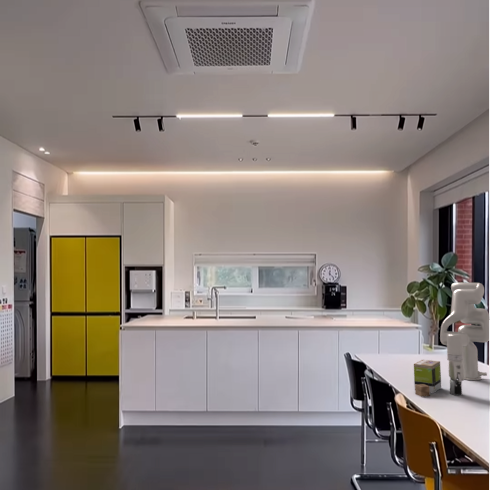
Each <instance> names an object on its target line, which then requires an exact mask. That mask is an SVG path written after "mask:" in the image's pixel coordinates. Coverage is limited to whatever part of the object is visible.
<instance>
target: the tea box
mask: <svg viewBox="0 0 490 490" xmlns="http://www.w3.org/2000/svg"><path fill="white" fill-rule="evenodd" d="M441 373H442V372H441V361H439V360H432V359H431V360H430V359H421V360H419V361H417V362H416V363H413V378H414V386H415V385H416V384H425V385H427V386H429V388H430V394H434V393H436V392H437V391H439V390H440V389H441V388H442V374H441Z"/></svg>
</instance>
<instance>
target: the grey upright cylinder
mask: <svg viewBox="0 0 490 490" xmlns="http://www.w3.org/2000/svg"><path fill="white" fill-rule="evenodd" d="M456 380H458V379H456ZM456 382H457V381H456ZM462 383H463V382H462ZM462 383H461V394H455V388H454V386H455V381H454V380H453V379H450V378H449V390H450V391H449V393H450V395H453V396H462V395H463V391H462V390H463V389H462V386H463V385H462Z"/></svg>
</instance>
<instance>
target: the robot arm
mask: <svg viewBox="0 0 490 490" xmlns="http://www.w3.org/2000/svg"><path fill="white" fill-rule="evenodd" d="M450 288H451V292H452V296H451V307H450V310H451V311H450V314H449V315H448V316H447V317H446V318H445V319H444V320H443V321H442V323H441V326H440V334H439V335H440V337H439V339H440V342H441V344H442V345H444V346H446V355H447V356H446V359H447V361H448V377H449V380H450V379H453V380H454V381H455V386H454V388H455V394H461V383H463V382H464V380H467V381H481V380H482V376H483V377H488V373H487V372H482V371H479V361H478V359H479V358H478V357H479V356H478V354H479V353H478V348H477V346H476V345H475V344H474V342H475V343H476V342H477V343H488V341H489V320H490V314H489V312H488V310H487V309H485V308H482V307H481V308H480V307H479V308H477V307H475V305H479V304H480V303H481V302H482V299H483V297H484V294H485V287H484V285H483V283H482V282H481V283H480V282H461V281H460V282H459V281H458V282H453V283H452V284H451V286H450ZM457 322H461V323H463V324H464V325H463V324H462V325H459V327H458V329H457V331H448V328H449V326H451V325H452V324H454V323H457ZM489 342H490V341H489ZM456 379H457V380H456ZM456 381H457V382H456Z"/></svg>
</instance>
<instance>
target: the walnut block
mask: <svg viewBox="0 0 490 490" xmlns="http://www.w3.org/2000/svg"><path fill="white" fill-rule="evenodd" d="M414 391H415V392H414V393H415V395H416V396H419V397H422V398H423V397H430V396H431V393H430V388H429V386H427V385H425V384H416V385H415V384H414Z"/></svg>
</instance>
